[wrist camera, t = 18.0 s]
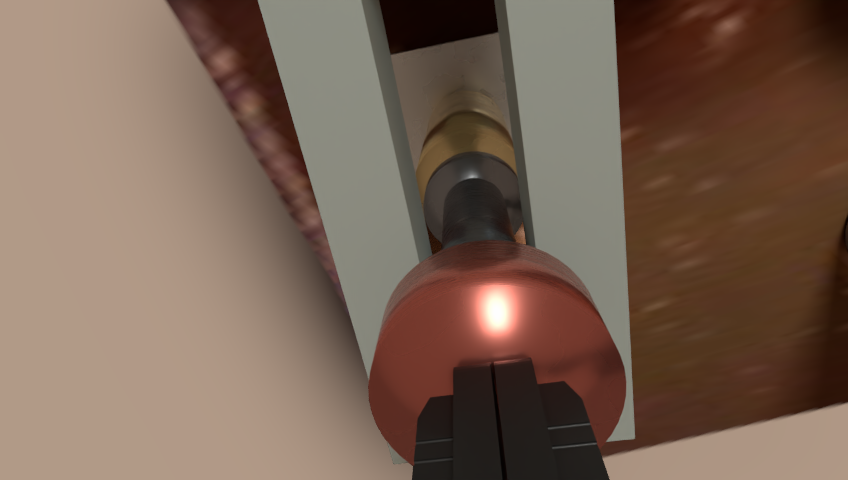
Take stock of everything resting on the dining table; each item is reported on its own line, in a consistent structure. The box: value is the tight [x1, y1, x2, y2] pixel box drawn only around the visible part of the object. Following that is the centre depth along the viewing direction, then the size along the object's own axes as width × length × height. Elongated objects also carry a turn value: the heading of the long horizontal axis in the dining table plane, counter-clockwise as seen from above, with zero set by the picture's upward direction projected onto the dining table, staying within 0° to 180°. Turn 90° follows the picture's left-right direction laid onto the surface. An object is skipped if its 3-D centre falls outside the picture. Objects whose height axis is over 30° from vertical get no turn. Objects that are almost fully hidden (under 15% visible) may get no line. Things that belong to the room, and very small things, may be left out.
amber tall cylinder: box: [415, 91, 517, 218], centre depth 28 cm, size 5×5×14 cm
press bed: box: [390, 32, 513, 174], centre depth 36 cm, size 11×11×2 cm
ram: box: [368, 151, 626, 466], centre depth 16 cm, size 5×5×12 cm
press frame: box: [258, 0, 635, 464], centre depth 23 cm, size 8×20×25 cm, turn 11°
